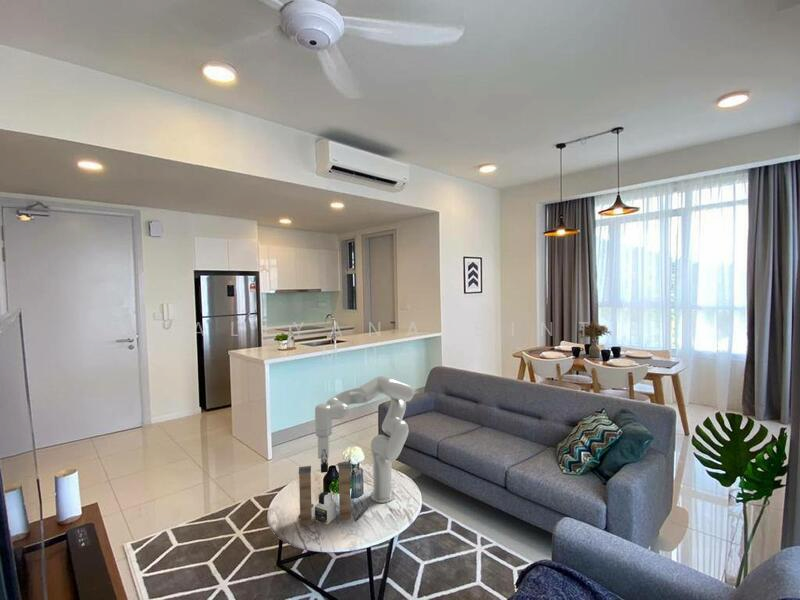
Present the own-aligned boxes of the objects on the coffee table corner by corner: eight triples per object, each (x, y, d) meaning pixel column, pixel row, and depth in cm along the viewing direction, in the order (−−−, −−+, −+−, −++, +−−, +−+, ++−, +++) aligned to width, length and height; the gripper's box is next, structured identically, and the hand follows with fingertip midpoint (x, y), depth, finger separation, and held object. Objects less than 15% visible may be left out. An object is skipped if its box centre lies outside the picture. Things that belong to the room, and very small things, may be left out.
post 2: (339, 513, 183) (337, 462, 183) (350, 512, 184) (349, 461, 184) (339, 520, 178) (338, 468, 177) (351, 518, 179) (350, 466, 178)
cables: (306, 505, 191) (306, 503, 191) (368, 507, 188) (368, 505, 188) (298, 518, 180) (298, 515, 180) (364, 520, 177) (364, 518, 177)
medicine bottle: (314, 521, 178) (314, 495, 178) (324, 513, 184) (324, 488, 184) (327, 525, 175) (326, 499, 174) (336, 516, 181) (336, 491, 181)
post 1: (300, 518, 180) (299, 467, 179) (312, 517, 181) (310, 465, 180) (299, 525, 174) (298, 472, 174) (312, 524, 176) (310, 471, 175)
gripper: (315, 425, 186) (316, 460, 186) (315, 438, 169) (315, 477, 169) (331, 424, 187) (331, 458, 188) (332, 437, 171) (333, 475, 171)
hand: (324, 467), depth 179 cm, fingers open, 9 cm apart
